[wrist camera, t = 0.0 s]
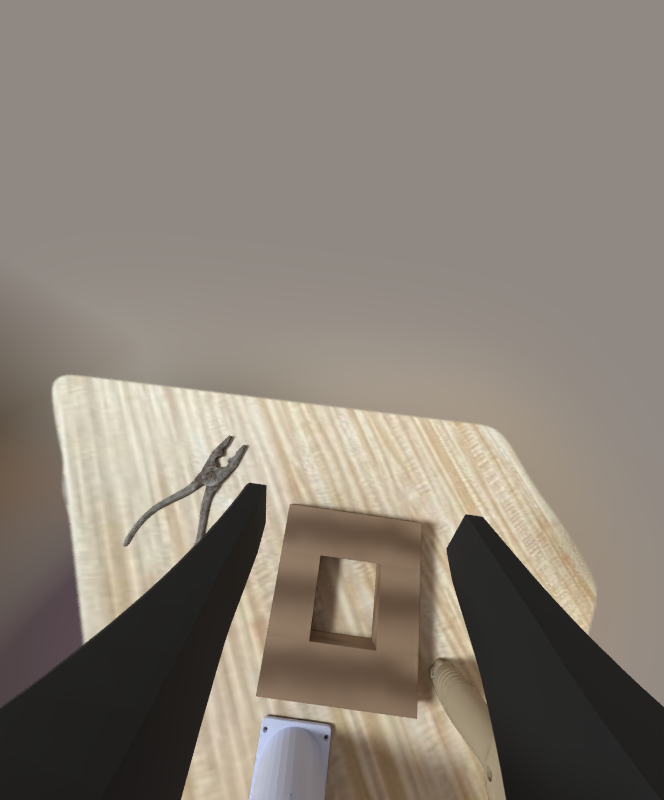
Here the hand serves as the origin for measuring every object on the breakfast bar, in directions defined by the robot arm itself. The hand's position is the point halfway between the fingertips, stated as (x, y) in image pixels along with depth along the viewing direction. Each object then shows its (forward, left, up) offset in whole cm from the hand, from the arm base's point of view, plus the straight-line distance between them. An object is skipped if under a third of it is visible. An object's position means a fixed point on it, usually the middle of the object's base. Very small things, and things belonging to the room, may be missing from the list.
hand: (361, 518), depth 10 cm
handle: (-18, -17, -32) cm, 41 cm away
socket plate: (-11, -4, -32) cm, 34 cm away
